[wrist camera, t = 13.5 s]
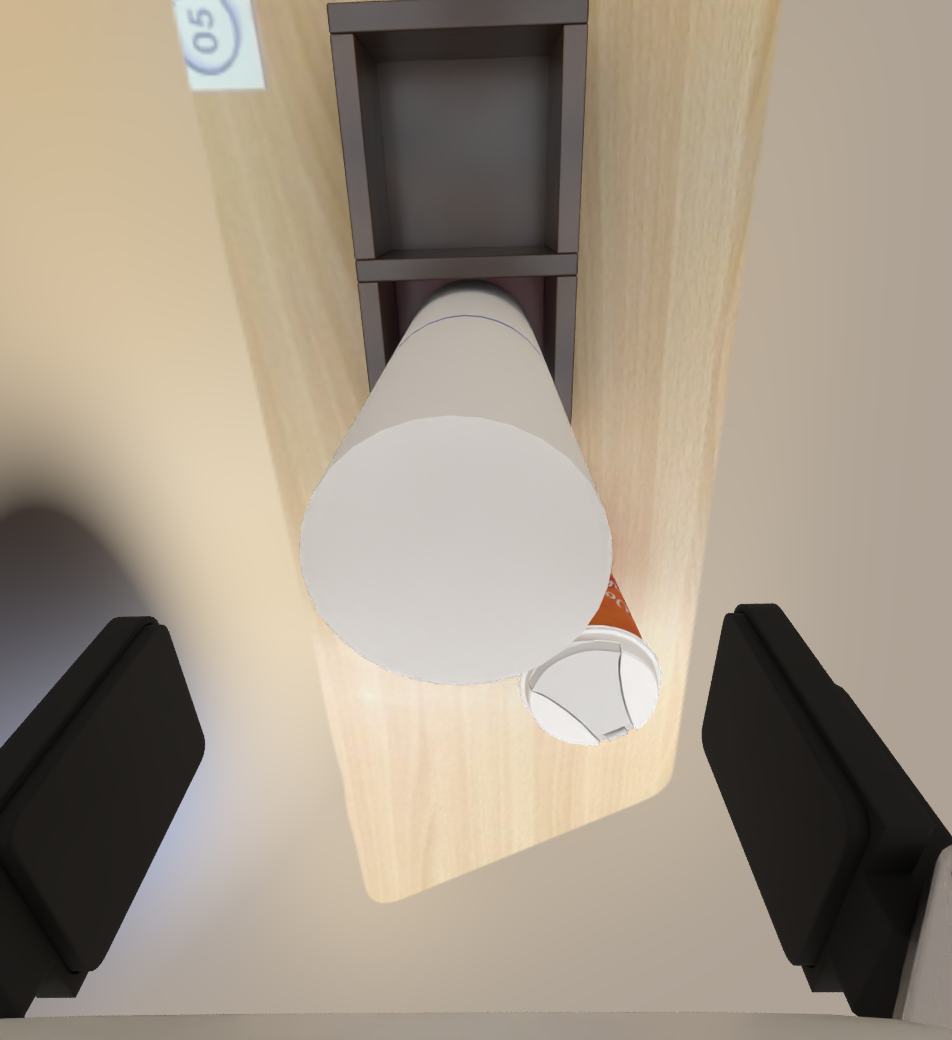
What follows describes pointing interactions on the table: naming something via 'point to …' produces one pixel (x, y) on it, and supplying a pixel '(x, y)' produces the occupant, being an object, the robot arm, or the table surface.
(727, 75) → the table surface
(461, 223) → the wooden compartment box
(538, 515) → the cylindrical container
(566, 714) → the paper cup
